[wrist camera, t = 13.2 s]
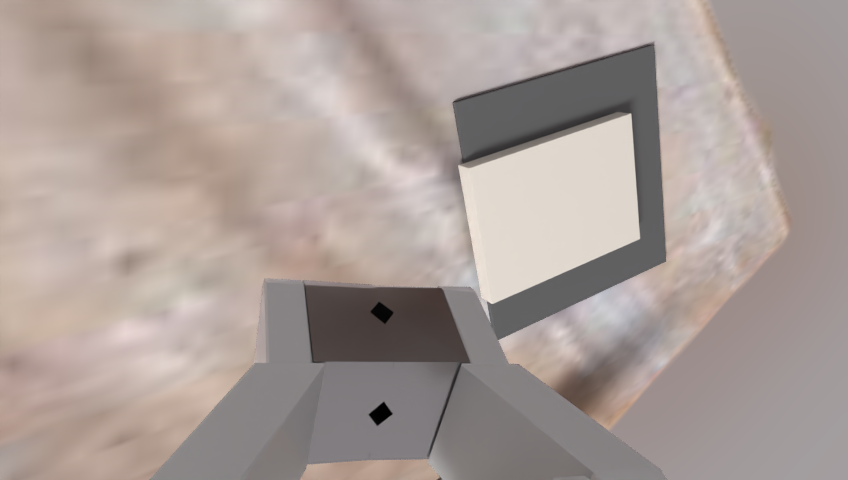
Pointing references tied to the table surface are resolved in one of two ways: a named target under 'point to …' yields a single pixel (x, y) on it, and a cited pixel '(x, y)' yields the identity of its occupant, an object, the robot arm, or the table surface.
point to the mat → (558, 110)
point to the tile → (551, 204)
